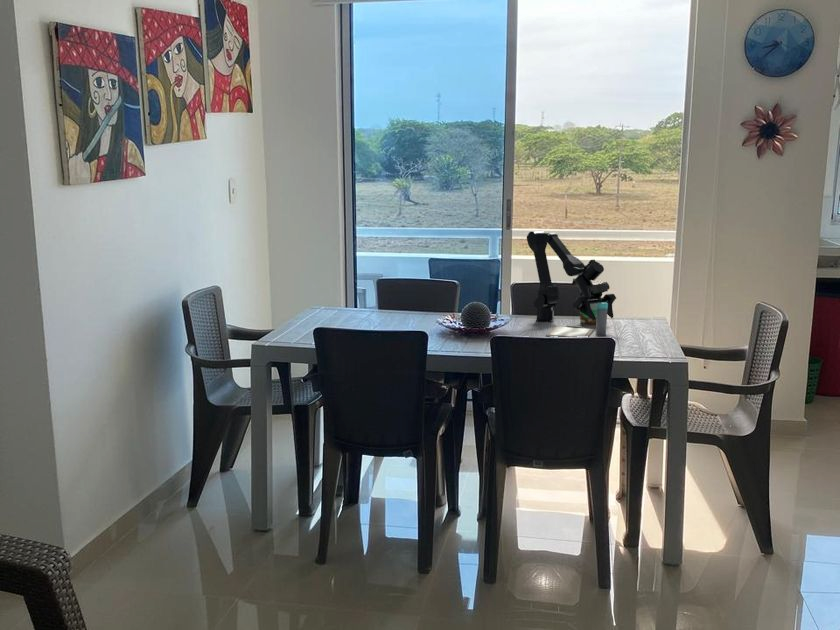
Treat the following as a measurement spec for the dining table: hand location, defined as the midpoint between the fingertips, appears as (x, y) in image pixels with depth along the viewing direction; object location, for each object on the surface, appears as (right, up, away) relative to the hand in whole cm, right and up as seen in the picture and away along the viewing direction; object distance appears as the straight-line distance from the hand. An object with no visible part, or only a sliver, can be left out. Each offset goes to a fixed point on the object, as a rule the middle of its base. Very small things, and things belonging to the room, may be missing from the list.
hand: (603, 318), depth 324 cm
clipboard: (-13, -6, +5) cm, 15 cm away
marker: (-1, -7, +2) cm, 7 cm away
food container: (+1, -3, +23) cm, 23 cm away
